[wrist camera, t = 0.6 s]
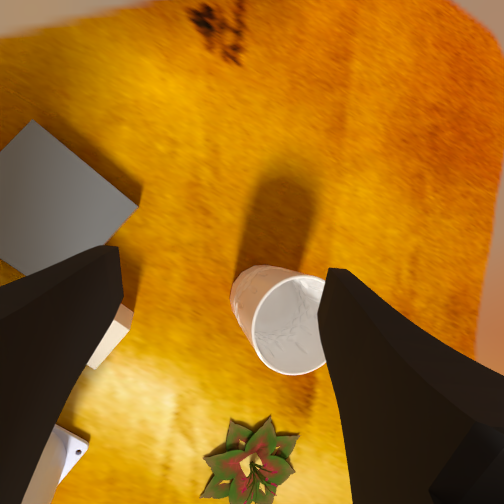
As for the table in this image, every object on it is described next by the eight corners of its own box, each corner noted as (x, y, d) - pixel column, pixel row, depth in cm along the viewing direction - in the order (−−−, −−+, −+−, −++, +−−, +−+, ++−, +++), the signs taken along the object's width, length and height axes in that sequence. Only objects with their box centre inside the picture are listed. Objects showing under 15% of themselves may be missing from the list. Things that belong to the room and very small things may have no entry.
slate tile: (63, 291, 28) (56, 296, 26) (-47, 216, 26) (-64, 215, 24) (138, 207, 29) (137, 206, 28) (41, 126, 27) (32, 119, 25)
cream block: (105, 345, 30) (95, 370, 25) (67, 321, 29) (49, 341, 24) (133, 312, 30) (129, 330, 26) (98, 287, 29) (86, 300, 24)
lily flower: (313, 421, 38) (333, 448, 34) (276, 516, 38) (291, 554, 34) (221, 400, 34) (230, 426, 30) (180, 504, 34) (183, 546, 30)
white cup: (216, 270, 32) (241, 292, 23) (286, 250, 34) (337, 263, 25) (233, 341, 34) (264, 390, 24) (300, 318, 36) (353, 355, 26)
